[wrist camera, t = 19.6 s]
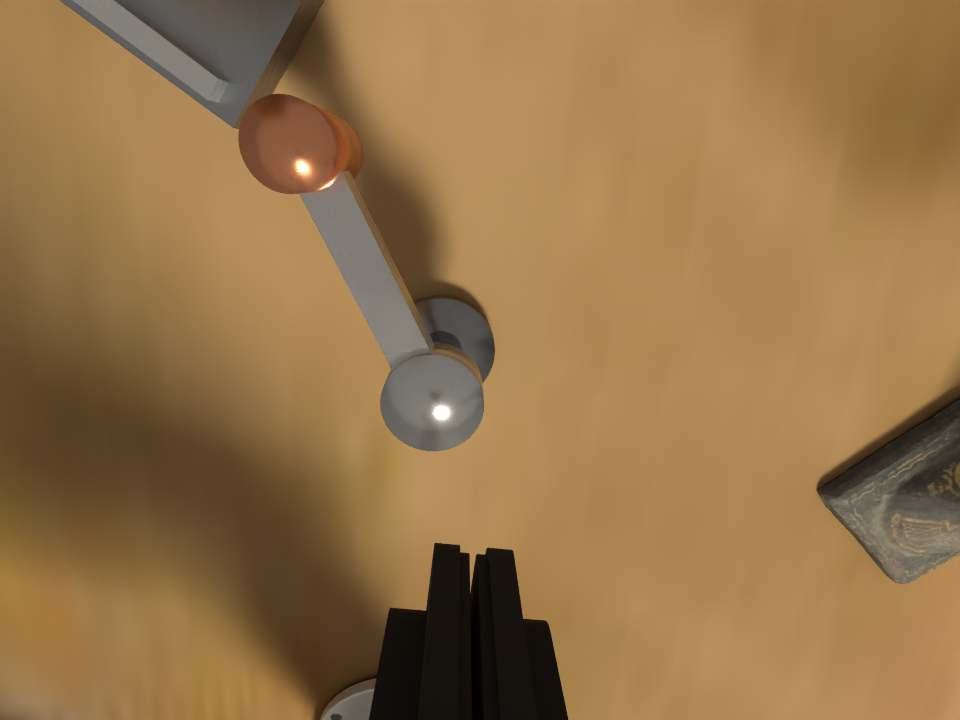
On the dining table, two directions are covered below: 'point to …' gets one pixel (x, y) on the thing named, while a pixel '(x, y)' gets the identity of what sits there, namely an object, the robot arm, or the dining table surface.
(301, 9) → the plate
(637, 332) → the dining table surface
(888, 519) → the embossing press
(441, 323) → the lever post
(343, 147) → the press lever
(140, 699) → the dining table surface
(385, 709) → the robot arm
